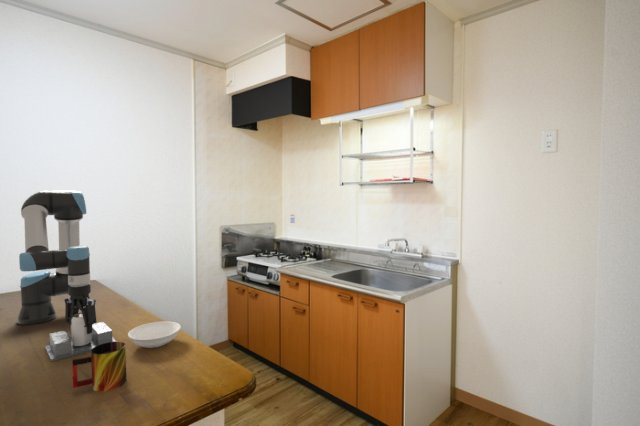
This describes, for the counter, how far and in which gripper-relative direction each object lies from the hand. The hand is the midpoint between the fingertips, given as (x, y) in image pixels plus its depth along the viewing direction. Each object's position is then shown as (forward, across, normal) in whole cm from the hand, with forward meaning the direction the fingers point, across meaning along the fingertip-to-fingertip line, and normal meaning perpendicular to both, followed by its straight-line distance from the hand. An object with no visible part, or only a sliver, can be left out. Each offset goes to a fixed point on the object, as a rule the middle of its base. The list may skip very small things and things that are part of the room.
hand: (81, 340), depth 144 cm
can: (+2, 0, 0) cm, 2 cm away
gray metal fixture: (+2, 0, 0) cm, 2 cm away
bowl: (+3, +28, +9) cm, 30 cm away
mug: (+3, +34, -22) cm, 41 cm away
